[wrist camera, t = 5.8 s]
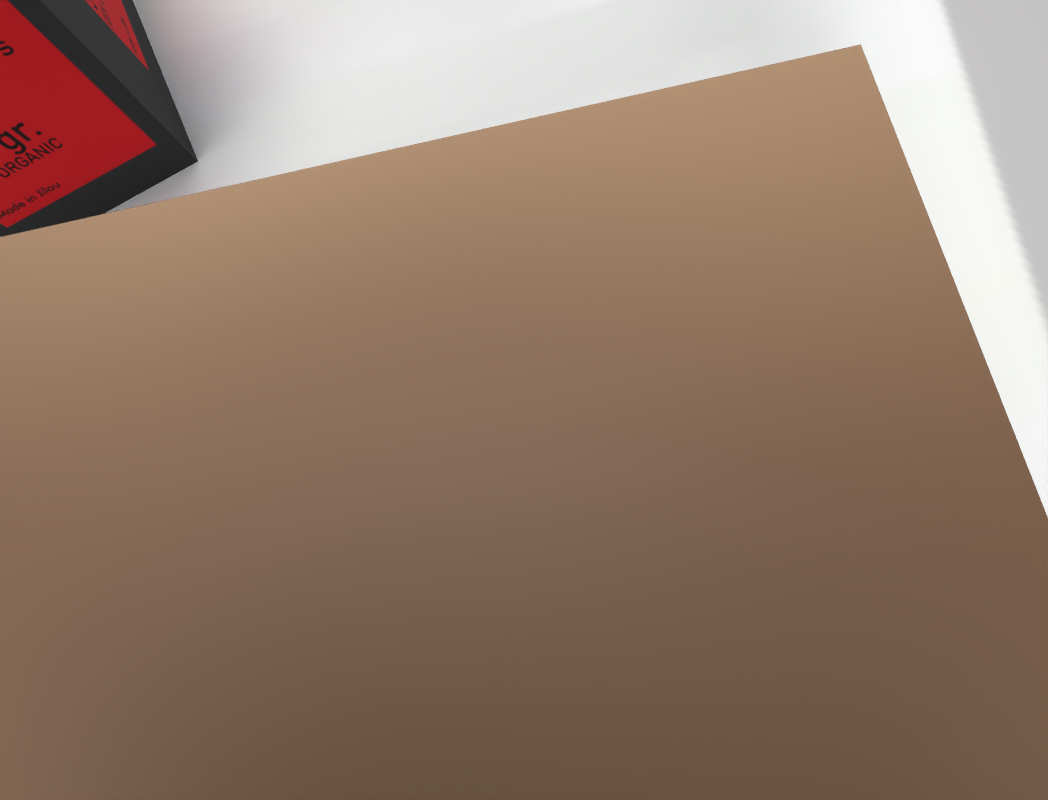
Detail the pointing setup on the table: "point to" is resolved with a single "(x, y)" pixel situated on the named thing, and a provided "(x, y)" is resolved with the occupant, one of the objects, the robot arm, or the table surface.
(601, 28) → the table surface
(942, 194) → the table surface
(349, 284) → the pillar
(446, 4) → the table surface
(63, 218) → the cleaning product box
